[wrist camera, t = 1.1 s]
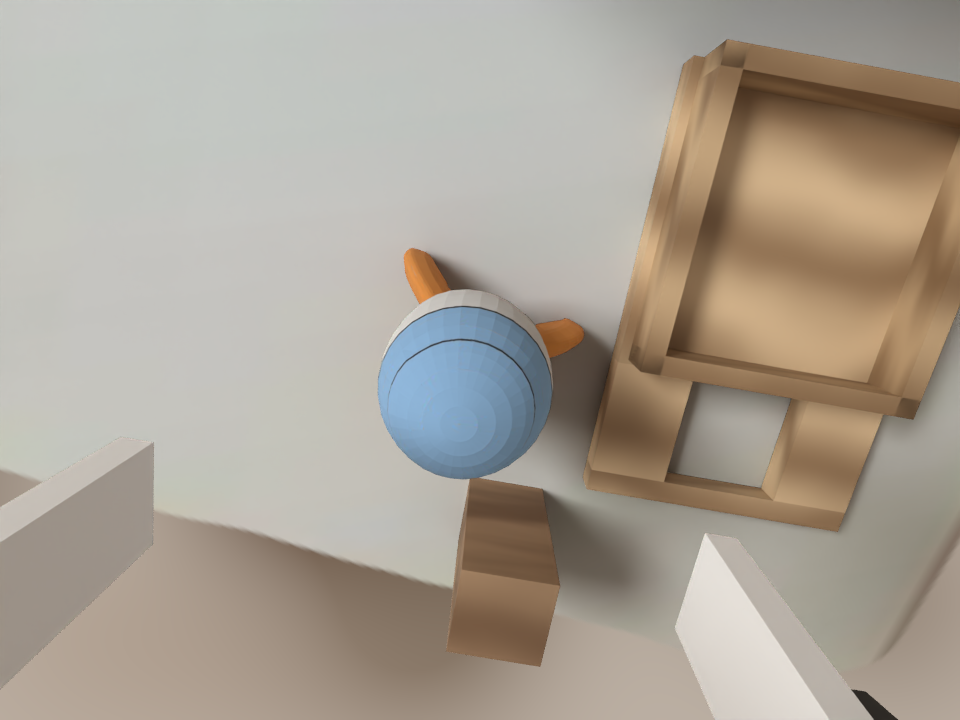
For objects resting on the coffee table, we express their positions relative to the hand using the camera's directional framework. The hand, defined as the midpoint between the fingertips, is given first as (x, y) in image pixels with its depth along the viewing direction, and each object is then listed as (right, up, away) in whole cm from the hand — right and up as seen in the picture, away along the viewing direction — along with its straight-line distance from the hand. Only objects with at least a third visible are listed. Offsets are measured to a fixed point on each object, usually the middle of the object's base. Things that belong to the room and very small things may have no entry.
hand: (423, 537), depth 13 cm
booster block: (+3, -5, +20) cm, 21 cm away
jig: (+17, +7, +17) cm, 25 cm away
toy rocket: (0, +5, +18) cm, 19 cm away
